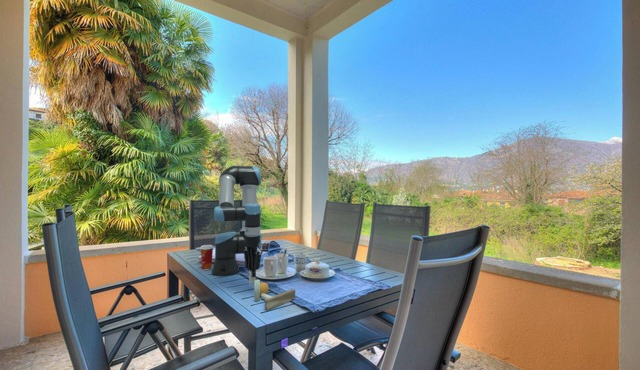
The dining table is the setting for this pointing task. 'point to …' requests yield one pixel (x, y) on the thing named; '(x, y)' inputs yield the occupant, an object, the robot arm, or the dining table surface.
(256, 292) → the sage pin
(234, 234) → the robot arm
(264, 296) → the ivory pin
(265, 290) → the ball
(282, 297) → the back wall
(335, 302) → the dining table surface
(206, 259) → the paper cup
